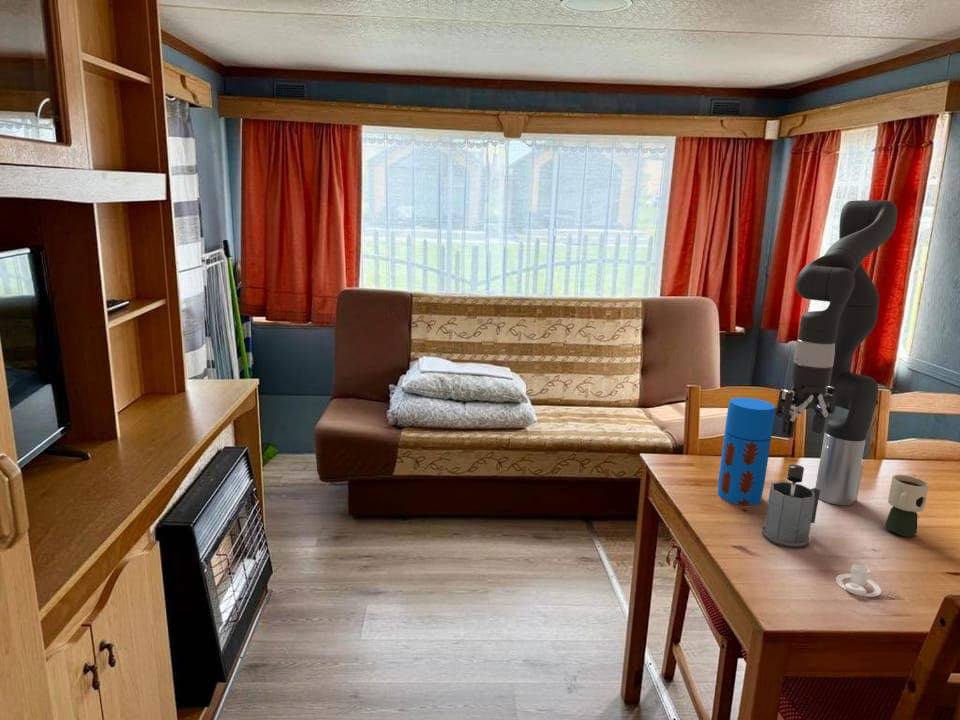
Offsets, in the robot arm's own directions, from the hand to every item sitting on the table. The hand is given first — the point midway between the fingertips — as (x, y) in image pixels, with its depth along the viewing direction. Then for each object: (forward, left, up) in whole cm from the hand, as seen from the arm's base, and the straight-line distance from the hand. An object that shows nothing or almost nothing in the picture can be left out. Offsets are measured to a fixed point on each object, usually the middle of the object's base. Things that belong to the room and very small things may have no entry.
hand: (802, 434), depth 143 cm
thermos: (-6, -21, -25) cm, 33 cm away
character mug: (-29, +6, -25) cm, 39 cm away
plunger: (0, 0, -22) cm, 22 cm away
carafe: (-1, 0, -25) cm, 25 cm away
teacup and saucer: (+3, +18, -26) cm, 31 cm away
